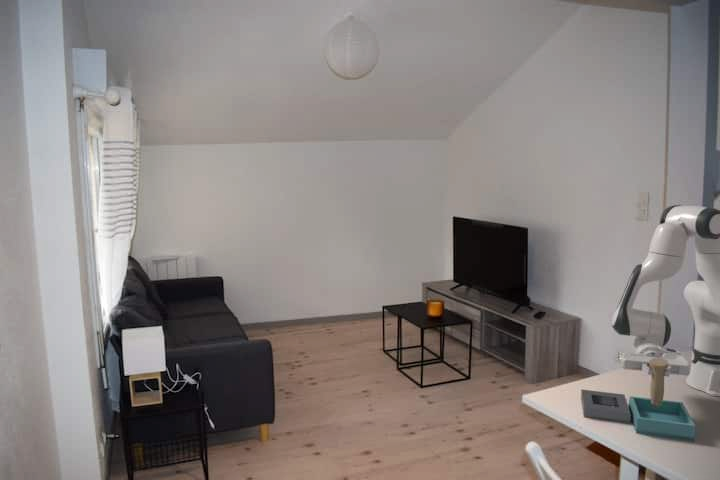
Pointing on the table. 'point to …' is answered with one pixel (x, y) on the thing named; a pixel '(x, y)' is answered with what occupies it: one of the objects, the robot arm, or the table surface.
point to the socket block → (605, 412)
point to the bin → (661, 419)
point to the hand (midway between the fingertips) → (658, 373)
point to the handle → (657, 380)
